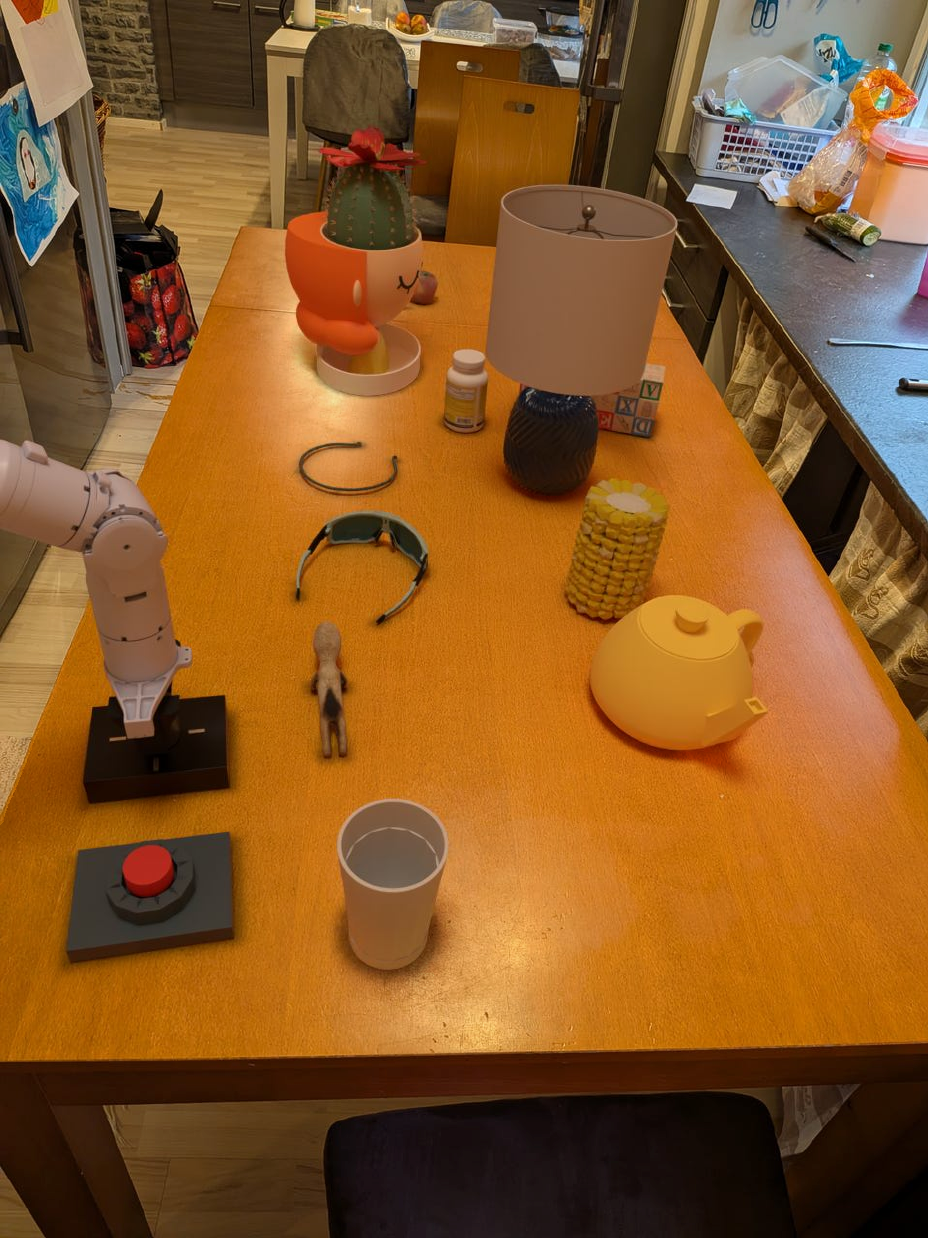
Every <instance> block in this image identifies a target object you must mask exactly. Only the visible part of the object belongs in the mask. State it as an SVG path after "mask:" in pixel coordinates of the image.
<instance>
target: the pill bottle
mask: <svg viewBox="0 0 928 1238" xmlns="http://www.w3.org/2000/svg"><path fill="white" fill-rule="evenodd" d="M485 364H486V355H485V354H484V353H483V352H481V351H479V350H476V349H471V348H470V349H469V348H467V349H466V348H465V349H459V350H456V351H455V352H453V354H452V365H451V366H450V367H449V368H448V369H447V372H446V379H445V393H444V408H443V409H444V410H443V423H444V425H445V426H446V427H447V428H448V429H450V430H452V431H454V432H457V433H463V434H464V433H466V434H468V433H475V432H478V431H480V430H481V429H482V428H483V427H484V424H485V415H486V405H487V394H488V383H489V375H488V374H489V373H488V372H487V371H486V369H485V366H486V365H485Z"/></svg>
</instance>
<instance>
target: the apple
mask: <svg viewBox="0 0 928 1238" xmlns="http://www.w3.org/2000/svg"><path fill="white" fill-rule="evenodd" d="M419 282H420V285H419V290H418V292H417V294H415V295H414V294H413V296H412V298H411V300H410V301H412V302H413V303H418V304H420V305H427V304H429V305H430V304H431V302H433V300H434V298H435V295H436V294H437V293H436V292H437V290H438V285H439V281H438V278H437V276H436V275H435V274H434V273H431V272H429V271H427V270H421V273H420V278H419Z"/></svg>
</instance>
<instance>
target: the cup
mask: <svg viewBox="0 0 928 1238" xmlns="http://www.w3.org/2000/svg"><path fill="white" fill-rule="evenodd" d="M449 851H450V841H449V835H448V831H447V830H446V828H445V826H444V823H442V821H441V820H440V818H439V817H438V816H437V815H436V814H435V813H434V812H433V811H431V810H430V809H429V808H427V807H426V806H424V805H422V804H421V803H418V802H415V801H412V800H410V799H409V800H408V799H403V798H383V799H382V798H381V799H378V800H373V801H370V802H368V803H365V804H363V805H362V806H360V807H359V808H357V809H356V810H353V812H352V813H351V814H349V816H348V817H347V818H346V819H345V821H344V822H343V823H342V826H341V827H340V829H339V832H338V835H337V839H336V852H337V853H336V854H337V858H338V865H339V870H340V875H341V877H340V878H341V881H342V887H343V888H342V889H343V894H344V901H345V902H344V903H345V909H346V915H347V916H346V917H347V923H348V942H349V945H350V947H351V949H352V950H351V951H352V952H353V953H354V955H355V956H356V957H357V958H358V959H359V960H360V961H361V962H363V963H364V964H365V965H367V966H369V967H370V968H371V967H372V968H374V969H377V970H384V971H392V970H398V969H401V968H405V967H407V966H409V965H410V964H412V963H413V962H415V961H416V960H417V959H418V958H419V957H420V956H421V954H422V953H423V952H424V949H425V948H426V945H427V943H428V938H429V928H430V924H431V921H432V917H433V913H434V909H435V904H436V901H437V897H438V892H439V888H440V884H441V882H442V877H443V874H444V870H445V867H446V863H447V860H448V856H449Z"/></svg>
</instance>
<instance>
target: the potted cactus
mask: <svg viewBox="0 0 928 1238" xmlns="http://www.w3.org/2000/svg"><path fill="white" fill-rule="evenodd" d="M350 140H351V141H350V142H349V143H348V145H347V149H348V151H345V150H342V149H339V148H335V147H327V146H324V147H319V148H318V153H320V154H323V155H325V158H326V159H325V161H326V162H329V163H330V164H332V165H334V166H335V167H337V168H339V169H340V170H339V169H337V171H336V175H334V178H335V179H336V181H334V179H333V178H332V180H330V183H331V185H328V189H327V192H329V193H327V195H326V197H327V196H328V197H329V198H325V199H324V202H323V204H324V206H326V207H324V209H323V211H318V212H317V211H315V212H310V213H306V214H302V215H298V216H297V217H294V218H292V219H291V220H290V221H289V222H288V223H287V224H288V225H287V229H286V234H285V240H284V259H285V264H286V265H285V267H286V271H287V275H288V279H289V282H290V285H291V287H292V289H293V291H294V294H295V295H296V296H297V298H298V301H299V302H298V303H297V304H296V308H295V319H296V323H297V326H298V328H299V330H300V331H301V333H302V334H303V335H304V336H305V338H306V339H308V340H309V341H310V342H311V343H312V344H315V345H316V348H315V349H316V372H317V375H318V377H319V379H320V380H321V381H322V382H323V383H325V385H327V386H329V387H330V388H332V389H334V390H336V391H338V392H341V393H344V394H348V395H354V396H355V395H356V396H365V397H366V396H369V397H370V396H381V395H388V394H391V393H394V392H397V391H399V390H402V389H404V388H406V387H408V386H409V385H411V384H412V383H413V382H414V381H415V380H416V379H417V378H418V375H419V374H420V371H421V370H420V369H421V351H422V346H421V343H420V341H419V339H418V338H417V337H416V335H414V334H413V333H412V331H411V332H410V331H409V330H408V329H406V328H404V327H402V326H400V325H399V326H398V325H396V324H393V323H389V322H391V321H393V320H394V319H396V318H397V317H398V316H399V315H400V314H401V313H402V312H403V311H405V310H406V309H407V306H408V305H409V303H410V301H412V300H411V298H412V296H413V294H414V295H415V294H417V292H418V290H419V285H420V282H419V278H420V273H421V271H422V267H423V264H424V262H423V256H424V254H423V252H424V249H423V247H424V246H423V237H422V232H421V230H420V228H418V224H415V223H418V222H419V220H417V217H416V218H413V216H418V215H419V214H417V208H412V207H415V204H416V201H415V199H416V197H415V196H416V195H415V194H414V193H413V191H412V189H411V188H412V187H410V182H407V183H406V179H405V178H406V174H405V173H406V172H405V173H404V172H402V173H403V174H402V175H400V171H405V170H406V168H404V167H411V166H412V167H413V166H414V167H415V166H423V165H426V164H427V161H424V160H422V159H420V158H419V159H417V157H419V156H420V155H421V154H420V153H419V152H407V151H405V150H402V149H398V148H397V146H396V145H395V144H392V143H387V144H385V136H384V134H383V132H382V131H381V130H380V129H379V128H377V127H375V126H373V125H370V126H367V127H366V128H365V129H357V130H355V131H354V132H353V133H352V134H351V139H350ZM349 151H350V152H349ZM399 166H400V167H399ZM340 172H341V173H340ZM405 183H406V184H405ZM410 189H411V190H410ZM410 191H411V192H410ZM409 192H410V193H409ZM413 196H414V198H411V199H410V197H413ZM327 202H328V203H327Z"/></svg>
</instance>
